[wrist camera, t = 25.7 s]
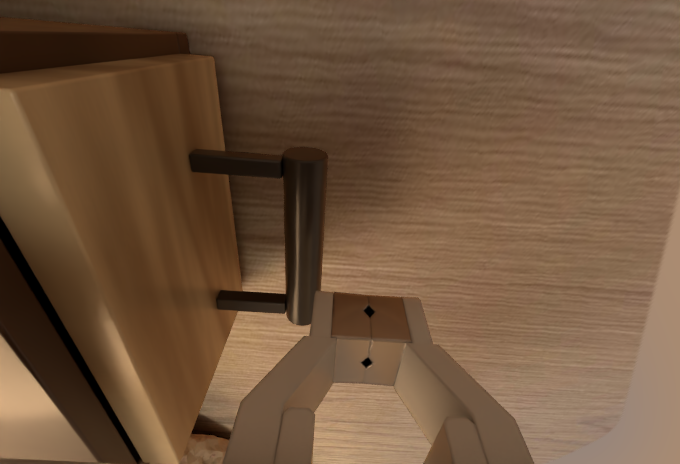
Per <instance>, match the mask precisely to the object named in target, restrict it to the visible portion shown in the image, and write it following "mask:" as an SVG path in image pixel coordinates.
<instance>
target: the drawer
mask: <svg viewBox="0 0 680 464" xmlns="http://www.w3.org/2000/svg"><path fill="white" fill-rule="evenodd" d="M327 169H328V154H327V153H326V152H325V151H323V150H320V149H317V148H312V147H294V148H289V149H287V150H285V151H284V152H283V156H282V155H271V154H258V153H245V152H232V151H225V144H224V136H223V128H222V120H221V112H220V104H219V96H218V88H217V79H216V71H215V63H214V58H213V57H212V56H202V55H190V54H173V55H164V56H155V57H146V58H137V59H128V60H119V61H110V62H101V63H92V64H83V65H74V66H65V67H56V68H47V69H38V70H29V71H20V72H11V73H2V74H0V216H1V218H2V220H3V222H4V223H5V225H6V227H7V228H8V230H9V232H10V234H11V235H12V237H13V239H14V241H15V242H16V244H17V246H18V247H19V249H20V251H21V253H22V254H23V256H24V258H25V259H26V261H27V263H28V265H29V266H30V268H31V270H32V271H33V273H34V275H35V277H36V278H37V280H38V282H39V283H40V285H41V287H42V289H43V290H44V292H45V294H46V296H47V297H48V299H49V301H50V302H51V304H52V306H53V308H54V309H55V311H56V313H57V314H58V316H59V318H60V320H61V321H62V323H63V325H64V326H65V328H66V329H64V328H55V329H56V330H57V332H58V334H59V335H60V337H61V338H62V340H63V342H64V343H65V345H66V347H67V348H68V350H69V352H70V353H71V355H72V357H73V358H74V360H75V361H76V363H77V365H78V366H79V368H80V370H81V371H82V373H83V375H84V376H85V378H86V380H87V381H88V383H89V385H90V386H91V388H92V389H93V391H94V393H95V394H96V396H97V398H98V399H99V401H100V403H101V404H102V406H103V408H104V409H105V411H106V413H107V414H108V416H109V417H110V419H111V421H112V420H113V418H114V417H115V415H116V416H117V418H118V419H119V421H120V423H121V424H122V426H123V428H124V430H125V431H126V433H127V435H128V436H129V438H130V440H131V442H132V443H133V445H134V447H135V449H136V450H137V452H138V454H139V455H140V457H141V459H142V461H143V462H145V463H167V464H179V463H180V461H181V459H182V456H183V453H184V451H185V448H186V445H187V443H188V440H189V438H190V435H191V432H192V430H193V427H194V425H195V422H196V419H197V417H198V414H199V412H200V409H201V406H202V404H203V401H204V398H205V396H206V393H207V391H208V388H209V385H210V383H211V380H212V378H213V375H214V372H215V370H216V367H217V365H218V362H219V359H220V357H221V354H222V352H223V349H224V346H225V344H226V341H227V338H228V336H229V333H230V331H231V328H232V325H233V323H234V320H235V318H236V315H237V312H238V311H249V312H265V313H282V314H285V312H286V315H287V318H288V319H289V320H290V321H291V322H292V323H294V324H296V325H301V326H304V325H309V324H311V321H312V313H313V305H314V297H315V292H316V291H321V276H322V258H323V241H324V223H325V205H326V187H327ZM228 175H239V176H252V177H266V178H279V179H280V178H282V176H283V193H284V235H285V276H286V294H278V293H261V292H245V291H243V290H242V282H241V274H240V266H239V257H238V249H237V241H236V233H235V225H234V217H233V209H232V201H231V193H230V185H229V177H228Z"/></svg>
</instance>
